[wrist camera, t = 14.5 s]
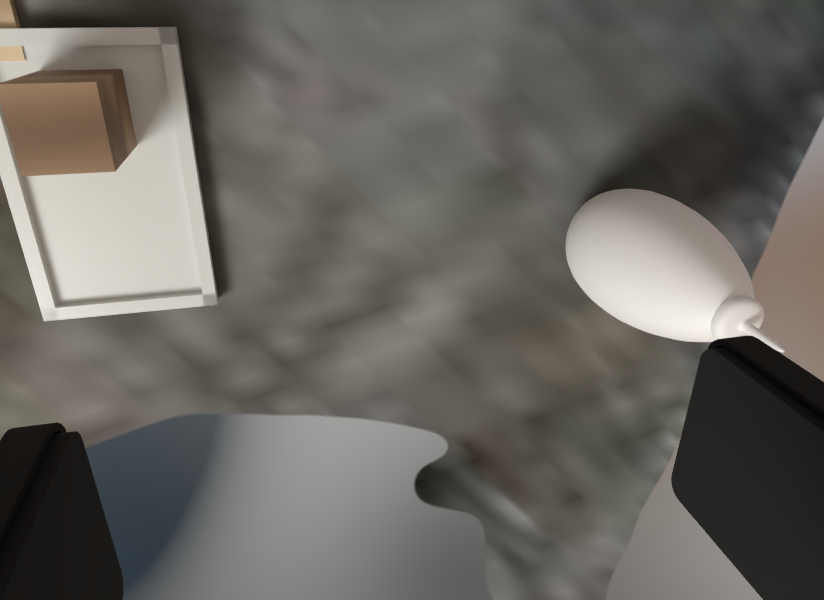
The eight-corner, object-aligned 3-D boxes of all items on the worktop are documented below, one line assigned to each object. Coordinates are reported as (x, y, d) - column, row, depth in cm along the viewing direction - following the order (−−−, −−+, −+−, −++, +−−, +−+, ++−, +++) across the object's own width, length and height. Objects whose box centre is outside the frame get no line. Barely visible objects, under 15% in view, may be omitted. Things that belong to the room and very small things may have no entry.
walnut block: (39, 70, 31) (-5, 84, 26) (122, 68, 32) (96, 82, 27) (58, 148, 33) (21, 176, 28) (137, 145, 34) (115, 171, 29)
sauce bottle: (522, 256, 43) (675, 403, 27) (574, 153, 41) (776, 249, 25) (607, 287, 46) (791, 436, 30) (661, 192, 43) (892, 300, 28)
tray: (-35, 28, 30) (-44, 29, 29) (176, 26, 32) (174, 27, 31) (49, 313, 37) (43, 321, 36) (218, 298, 39) (217, 304, 38)
